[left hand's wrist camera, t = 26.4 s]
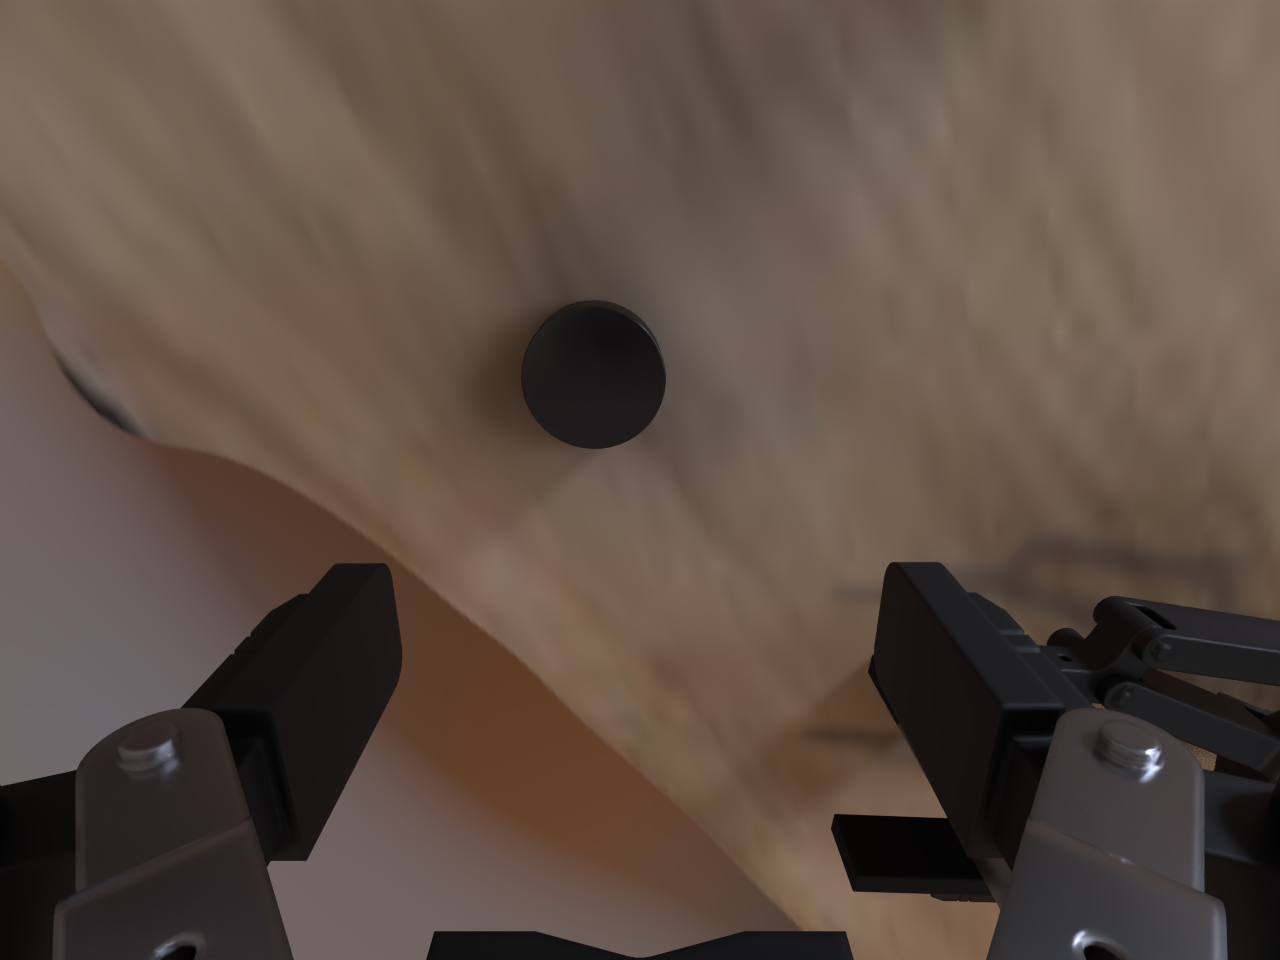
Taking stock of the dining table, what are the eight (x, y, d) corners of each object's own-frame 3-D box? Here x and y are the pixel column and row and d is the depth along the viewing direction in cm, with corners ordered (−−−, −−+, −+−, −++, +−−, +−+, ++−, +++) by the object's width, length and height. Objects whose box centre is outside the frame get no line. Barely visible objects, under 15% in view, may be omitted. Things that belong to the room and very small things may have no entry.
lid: (558, 276, 24) (554, 281, 23) (684, 335, 25) (690, 344, 23) (508, 401, 26) (499, 415, 24) (628, 452, 27) (629, 470, 25)
